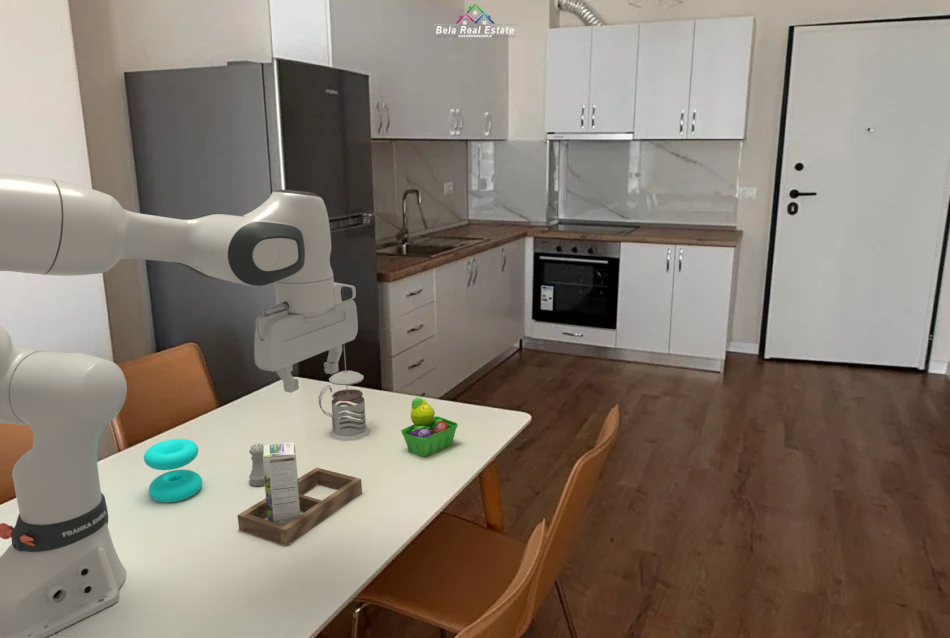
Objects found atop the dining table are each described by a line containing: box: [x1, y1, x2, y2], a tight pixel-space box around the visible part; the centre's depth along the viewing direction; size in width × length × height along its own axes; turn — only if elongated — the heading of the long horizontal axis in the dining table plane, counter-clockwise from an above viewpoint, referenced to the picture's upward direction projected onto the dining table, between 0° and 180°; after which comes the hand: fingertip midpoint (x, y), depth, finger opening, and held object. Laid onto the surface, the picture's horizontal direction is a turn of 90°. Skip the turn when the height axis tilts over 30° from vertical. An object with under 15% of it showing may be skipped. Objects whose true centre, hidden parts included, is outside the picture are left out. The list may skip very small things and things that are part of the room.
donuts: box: [143, 438, 203, 503], centre depth 143 cm, size 10×10×10 cm
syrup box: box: [263, 442, 301, 525], centre depth 130 cm, size 6×6×14 cm
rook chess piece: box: [248, 443, 265, 487], centre depth 147 cm, size 4×4×8 cm
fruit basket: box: [400, 397, 459, 458], centre depth 162 cm, size 11×9×11 cm
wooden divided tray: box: [237, 467, 363, 547], centre depth 136 cm, size 21×11×3 cm, turn 151°
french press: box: [318, 345, 371, 442], centre depth 169 cm, size 10×12×25 cm
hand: (312, 381), depth 114 cm, fingers open, 8 cm apart
